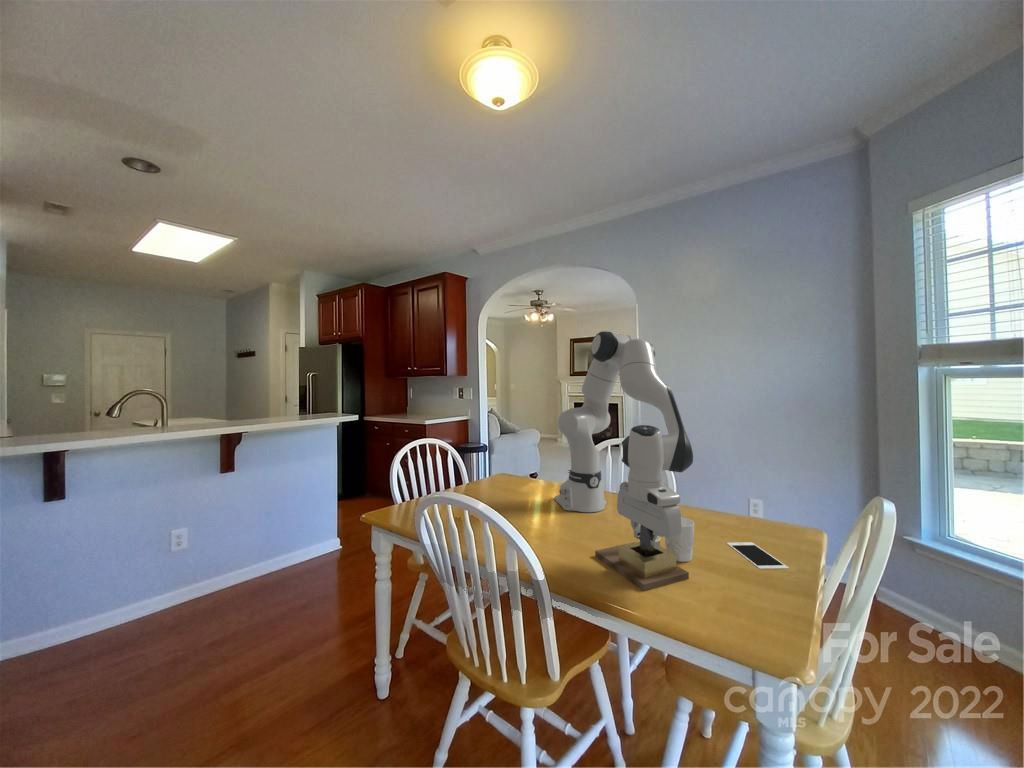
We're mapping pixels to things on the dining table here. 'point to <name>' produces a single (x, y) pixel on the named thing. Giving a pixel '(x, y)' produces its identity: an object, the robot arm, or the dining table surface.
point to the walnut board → (612, 559)
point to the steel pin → (646, 542)
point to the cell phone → (757, 556)
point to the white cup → (682, 542)
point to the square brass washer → (647, 561)
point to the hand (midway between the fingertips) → (646, 542)
